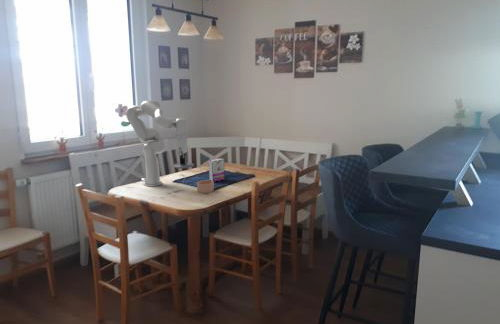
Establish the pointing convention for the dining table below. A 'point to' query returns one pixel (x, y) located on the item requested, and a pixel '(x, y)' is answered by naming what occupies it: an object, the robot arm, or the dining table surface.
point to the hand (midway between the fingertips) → (183, 162)
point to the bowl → (205, 186)
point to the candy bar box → (216, 170)
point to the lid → (183, 164)
